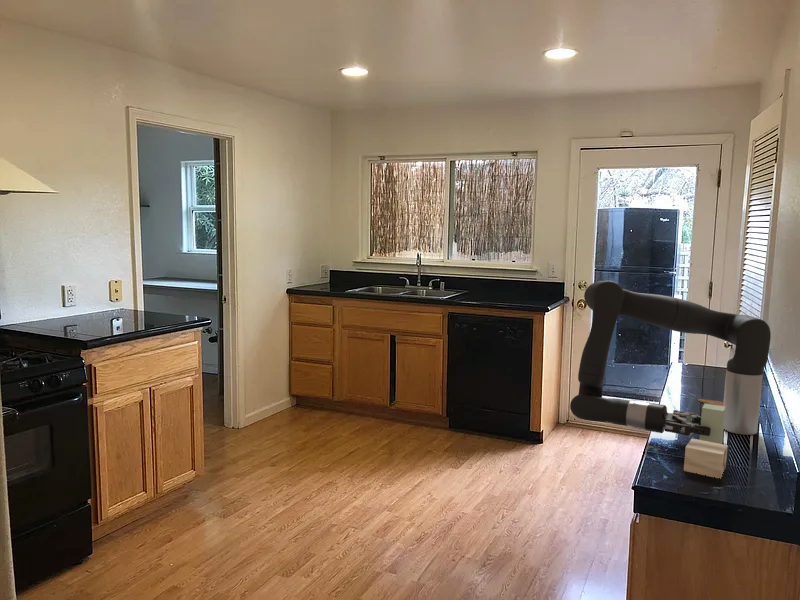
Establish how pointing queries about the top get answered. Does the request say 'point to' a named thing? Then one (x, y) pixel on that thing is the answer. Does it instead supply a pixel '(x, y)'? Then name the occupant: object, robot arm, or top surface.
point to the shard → (711, 402)
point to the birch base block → (705, 458)
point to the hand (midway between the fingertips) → (712, 427)
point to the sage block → (713, 422)
